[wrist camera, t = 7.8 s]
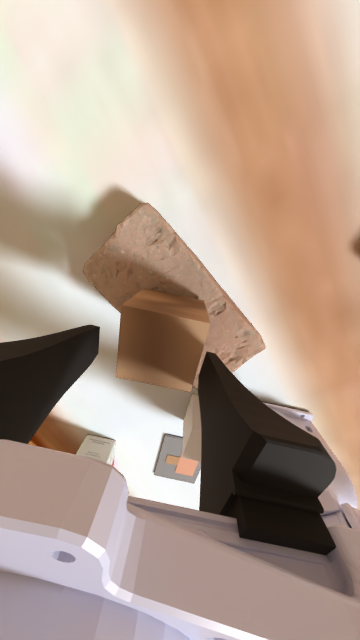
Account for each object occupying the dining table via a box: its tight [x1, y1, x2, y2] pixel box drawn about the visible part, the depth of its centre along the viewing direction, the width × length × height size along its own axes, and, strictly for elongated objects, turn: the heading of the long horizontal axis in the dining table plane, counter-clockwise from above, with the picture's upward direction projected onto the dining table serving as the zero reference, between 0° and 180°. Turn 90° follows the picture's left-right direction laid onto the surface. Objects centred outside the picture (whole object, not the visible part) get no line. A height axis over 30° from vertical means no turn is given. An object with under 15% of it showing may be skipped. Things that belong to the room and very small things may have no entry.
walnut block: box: [116, 288, 210, 392], centre depth 13 cm, size 5×5×5 cm
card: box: [154, 434, 201, 483], centre depth 28 cm, size 7×10×1 cm
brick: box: [83, 203, 265, 389], centre depth 17 cm, size 17×8×5 cm, turn 42°
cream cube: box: [182, 394, 201, 462], centre depth 22 cm, size 5×5×5 cm
